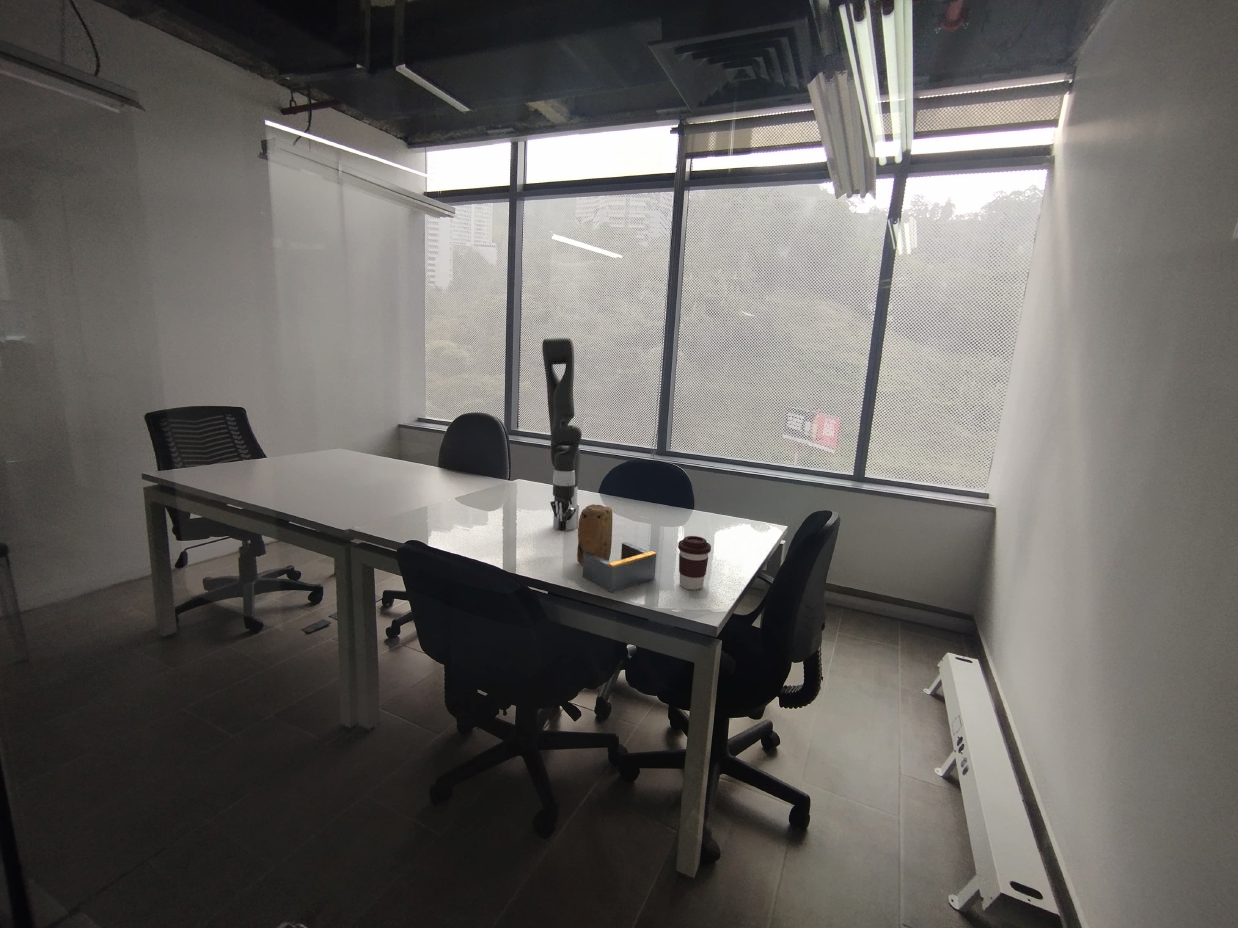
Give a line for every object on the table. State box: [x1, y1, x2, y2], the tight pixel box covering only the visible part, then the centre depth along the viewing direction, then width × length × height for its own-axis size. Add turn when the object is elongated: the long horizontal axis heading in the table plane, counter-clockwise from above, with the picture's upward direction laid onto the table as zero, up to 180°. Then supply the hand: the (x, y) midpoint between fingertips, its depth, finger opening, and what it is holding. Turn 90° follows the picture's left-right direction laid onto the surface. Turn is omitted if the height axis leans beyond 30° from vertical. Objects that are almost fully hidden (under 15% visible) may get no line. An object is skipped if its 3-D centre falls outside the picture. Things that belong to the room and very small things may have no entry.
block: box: [576, 503, 613, 565], centre depth 174 cm, size 11×8×20 cm
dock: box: [581, 541, 657, 594], centre depth 166 cm, size 18×14×9 cm
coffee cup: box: [677, 535, 712, 591], centre depth 163 cm, size 10×10×15 cm
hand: (561, 530), depth 187 cm, fingers closed
